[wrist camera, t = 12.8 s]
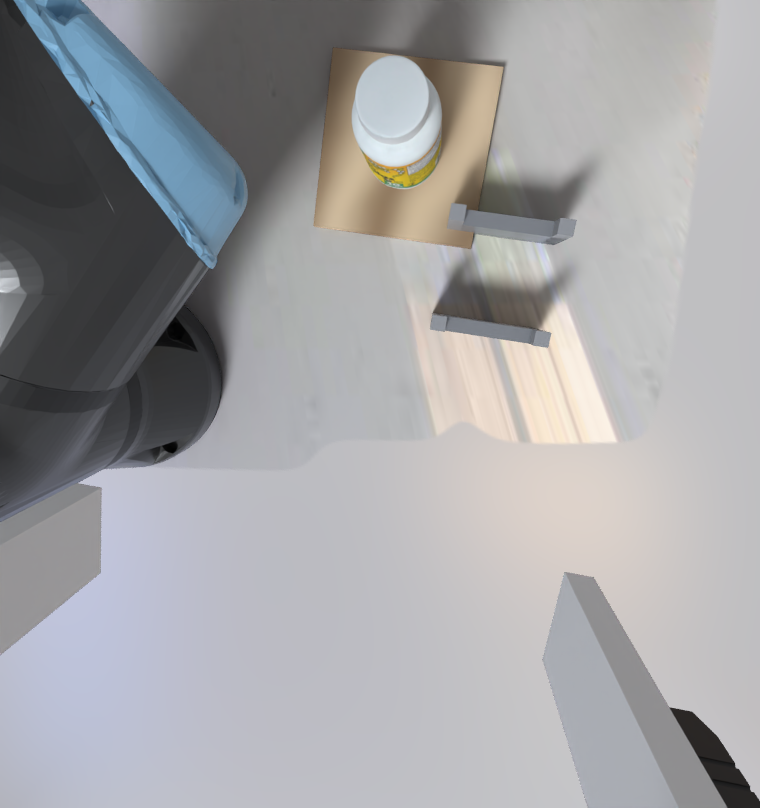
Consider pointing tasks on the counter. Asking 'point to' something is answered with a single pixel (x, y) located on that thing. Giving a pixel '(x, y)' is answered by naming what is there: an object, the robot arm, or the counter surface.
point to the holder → (512, 230)
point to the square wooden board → (449, 183)
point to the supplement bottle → (398, 122)
